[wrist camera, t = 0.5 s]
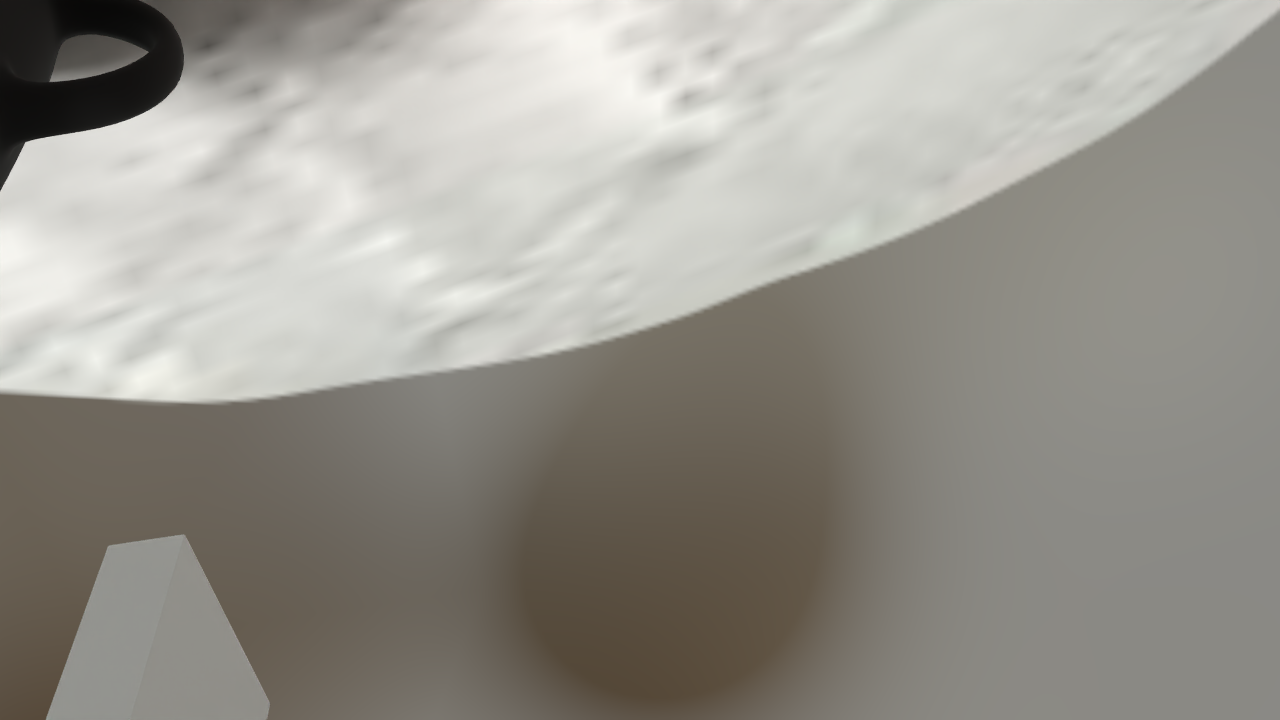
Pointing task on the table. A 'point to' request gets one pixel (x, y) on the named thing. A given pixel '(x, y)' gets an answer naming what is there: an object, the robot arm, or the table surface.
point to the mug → (35, 108)
